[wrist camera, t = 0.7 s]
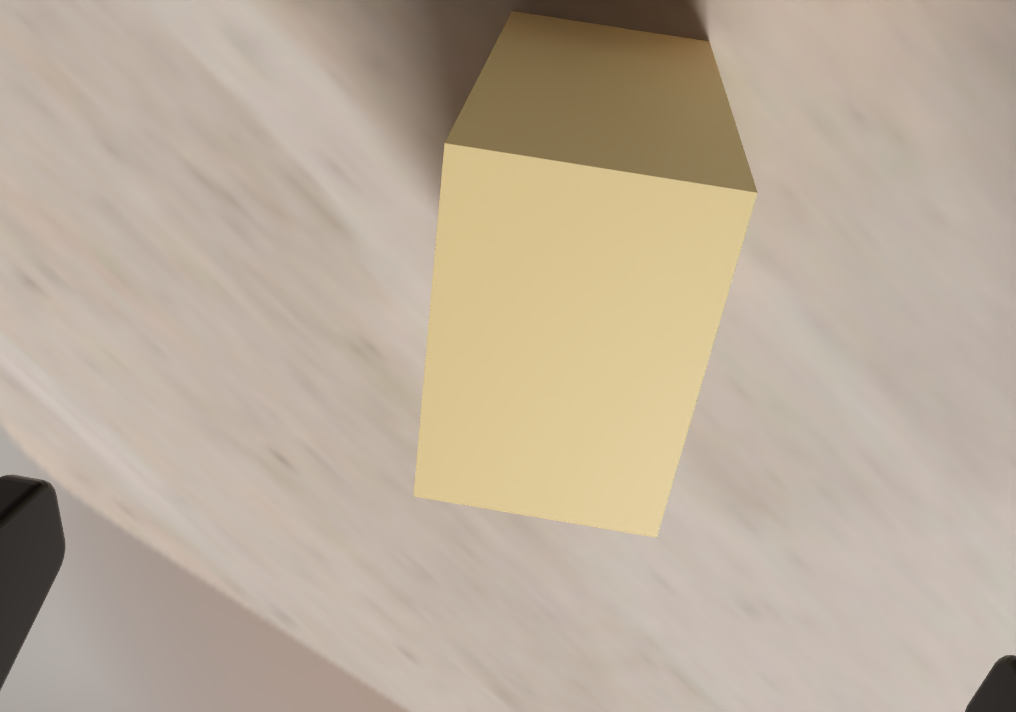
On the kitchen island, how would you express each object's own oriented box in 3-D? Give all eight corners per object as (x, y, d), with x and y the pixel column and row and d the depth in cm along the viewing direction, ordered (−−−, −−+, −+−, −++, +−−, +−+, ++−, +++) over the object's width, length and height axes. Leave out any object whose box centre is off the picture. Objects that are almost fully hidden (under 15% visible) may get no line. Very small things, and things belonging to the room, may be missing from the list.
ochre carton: (712, 42, 18) (763, 193, 11) (650, 300, 21) (661, 538, 15) (508, 10, 18) (439, 142, 11) (477, 272, 21) (409, 495, 15)
